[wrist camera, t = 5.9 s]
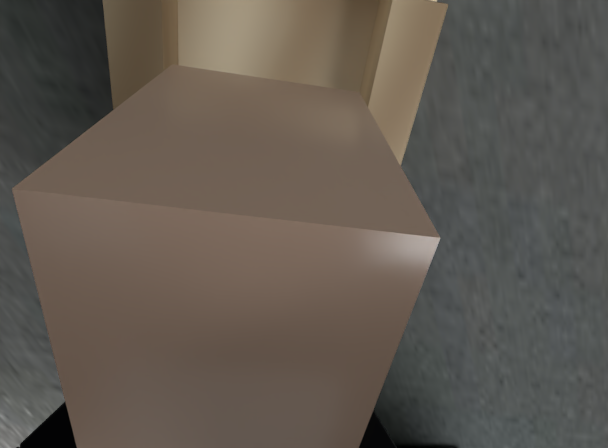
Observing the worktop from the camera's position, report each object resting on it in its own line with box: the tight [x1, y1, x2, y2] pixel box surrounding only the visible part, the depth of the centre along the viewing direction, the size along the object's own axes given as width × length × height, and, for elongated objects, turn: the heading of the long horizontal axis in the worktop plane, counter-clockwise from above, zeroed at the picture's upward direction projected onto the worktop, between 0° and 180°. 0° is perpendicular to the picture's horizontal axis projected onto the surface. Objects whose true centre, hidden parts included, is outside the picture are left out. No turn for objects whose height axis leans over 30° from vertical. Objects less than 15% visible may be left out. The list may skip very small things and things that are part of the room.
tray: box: [103, 0, 448, 166], centre depth 16 cm, size 10×17×3 cm, turn 171°
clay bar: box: [12, 64, 440, 448], centre depth 9 cm, size 4×12×5 cm, turn 171°
